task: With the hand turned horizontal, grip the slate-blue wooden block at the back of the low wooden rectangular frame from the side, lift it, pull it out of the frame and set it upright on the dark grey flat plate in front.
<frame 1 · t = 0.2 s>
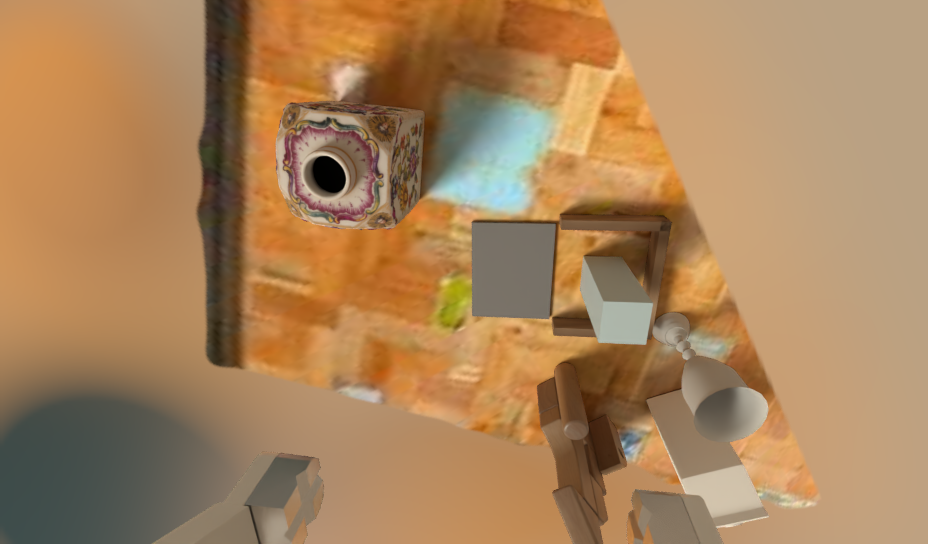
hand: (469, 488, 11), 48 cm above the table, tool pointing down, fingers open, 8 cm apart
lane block: (600, 273, 59), on the table
dark grey flat plate: (511, 271, 60), on the table
chalice: (670, 327, 61), on the table
wooden rectangular frame: (604, 273, 59), on the table
wooden toy: (575, 402, 67), on the table
milk carton: (675, 408, 66), on the table
decorative jar: (379, 152, 56), on the table
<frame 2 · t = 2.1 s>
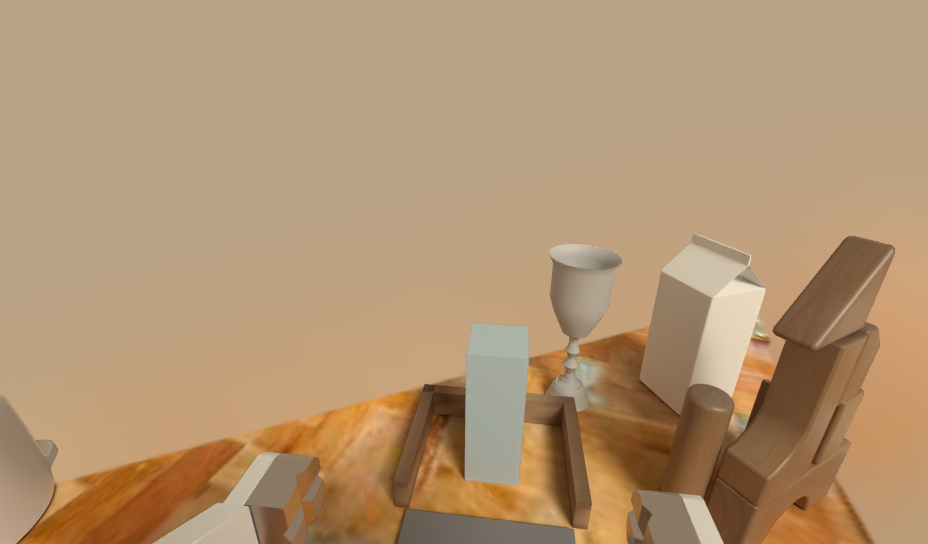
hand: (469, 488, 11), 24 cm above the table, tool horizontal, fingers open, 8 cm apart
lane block: (493, 461, 42), on the table
chalice: (566, 399, 51), on the table
wooden rectangular frame: (493, 457, 43), on the table
wooden toy: (738, 502, 39), on the table
milk carton: (681, 393, 52), on the table
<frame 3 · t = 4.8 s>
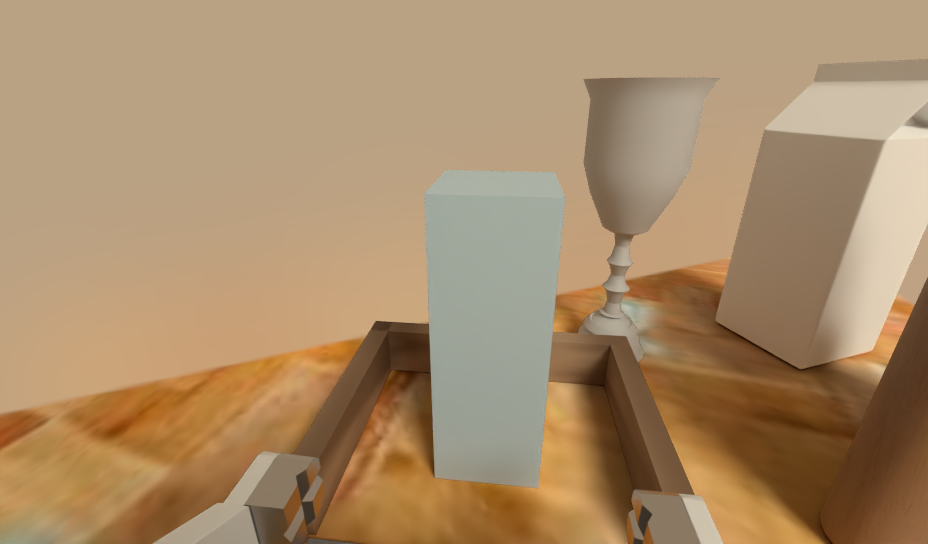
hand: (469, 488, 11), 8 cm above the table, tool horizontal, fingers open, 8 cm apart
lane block: (489, 443, 23), on the table
chalice: (606, 348, 32), on the table
wooden rectangular frame: (489, 436, 24), on the table
milk carton: (786, 339, 33), on the table
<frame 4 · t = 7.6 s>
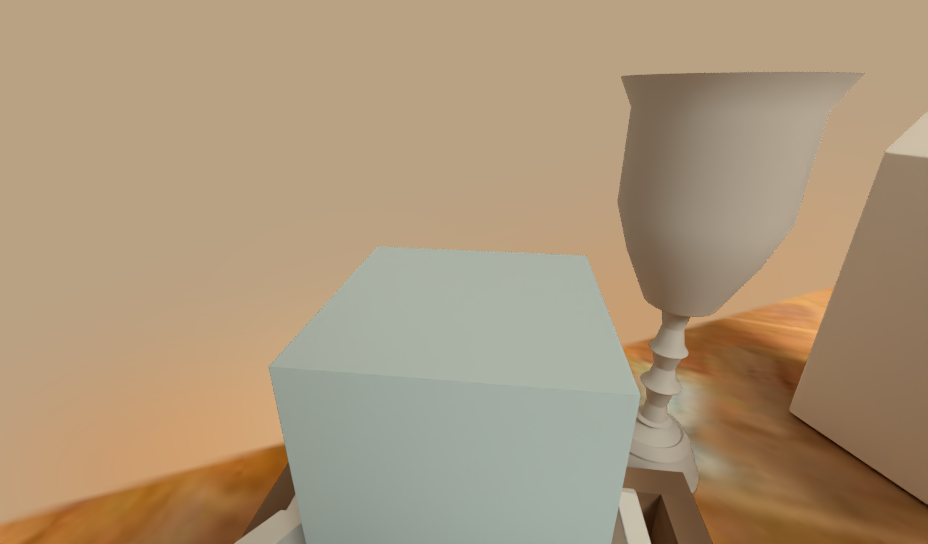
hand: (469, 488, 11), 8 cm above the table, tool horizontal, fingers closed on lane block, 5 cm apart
chalice: (643, 462, 22), on the table
milk carton: (896, 444, 23), on the table
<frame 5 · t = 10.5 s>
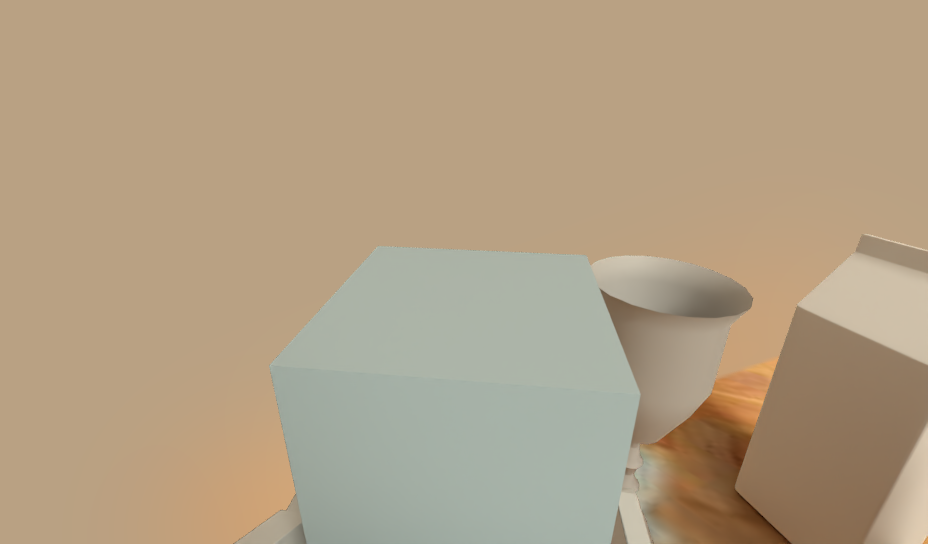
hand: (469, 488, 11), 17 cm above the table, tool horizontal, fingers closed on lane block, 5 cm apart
chalice: (611, 537, 28), on the table
milk carton: (817, 521, 29), on the table
when the fingers open (9 cm above the table, at t = 13.8 s): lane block stays where it is, resting on dark grey flat plate.
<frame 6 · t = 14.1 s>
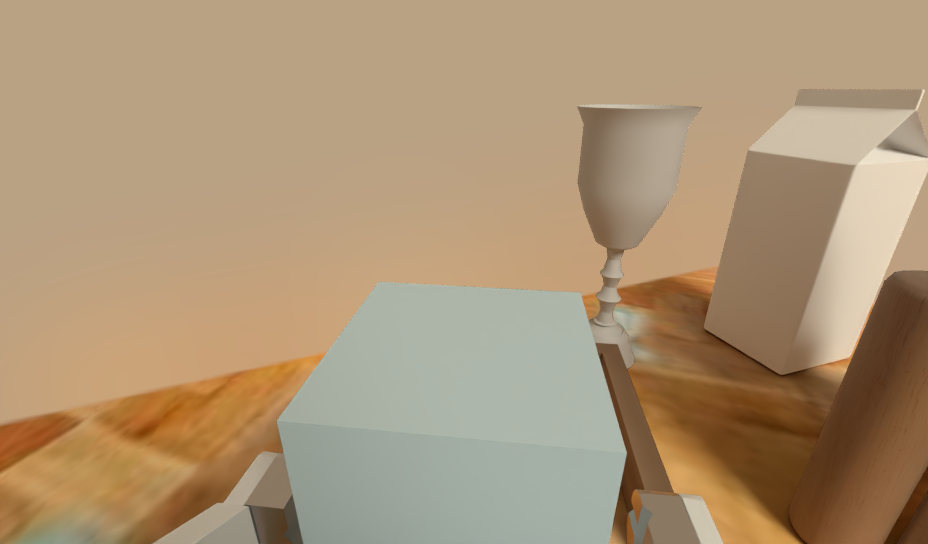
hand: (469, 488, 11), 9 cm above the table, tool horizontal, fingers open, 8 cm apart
chalice: (600, 354, 34), on the table
wooden rectangular frame: (489, 437, 25), on the table
milk carton: (770, 346, 35), on the table
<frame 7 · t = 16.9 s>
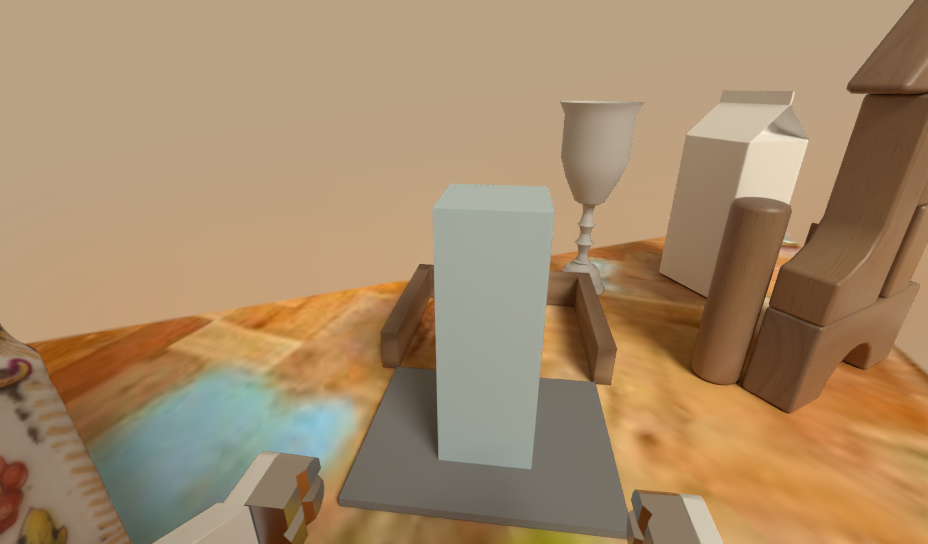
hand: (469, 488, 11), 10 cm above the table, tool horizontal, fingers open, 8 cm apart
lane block: (487, 430, 25), resting on dark grey flat plate
dark grey flat plate: (487, 437, 26), on the table
chalice: (578, 287, 45), on the table
wooden rectangular frame: (498, 329, 37), on the table
wooden toy: (785, 365, 33), on the table
milk carton: (707, 283, 47), on the table
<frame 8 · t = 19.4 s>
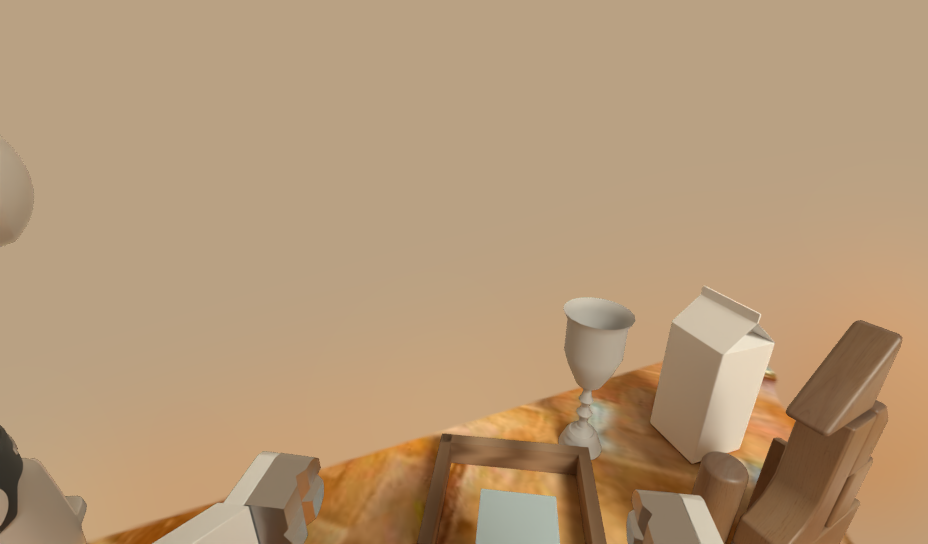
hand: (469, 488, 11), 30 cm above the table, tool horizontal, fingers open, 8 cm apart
chalice: (579, 445, 52), on the table
wooden rectangular frame: (511, 510, 44), on the table
milk carton: (692, 437, 53), on the table
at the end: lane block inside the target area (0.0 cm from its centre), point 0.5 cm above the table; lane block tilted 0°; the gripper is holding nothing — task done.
